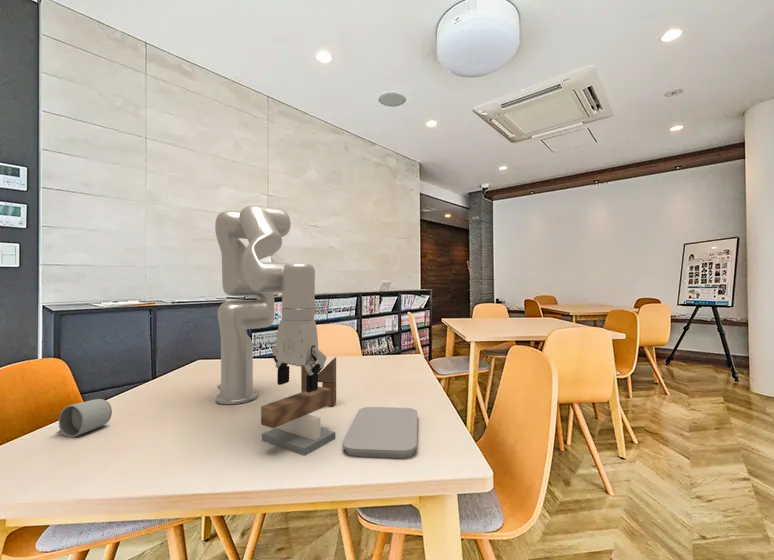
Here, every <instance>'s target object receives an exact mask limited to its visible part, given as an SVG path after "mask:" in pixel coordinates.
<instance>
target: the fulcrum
mask: <svg viewBox="0 0 774 560" xmlns="http://www.w3.org/2000/svg"><path fill="white" fill-rule="evenodd" d="M335 439H336V431H332V430H329V429H327V428H326V429H325V428H322V427H321V417H319V416H316V415H312V414H310V413H309V414H307V415H304V416H302V417H300V418H297V419H295V420H292V421H290V422H288V423H285V424H283V425H280V426H278V427H276V428H271V429H270V430H267V431H266V432H263V433H261V441H263V442H266V443H268V444H272V445H274V446H277V447H280V448H282V449H286V450H288V451H291V452H294V453H297V454H299V455H303V456H306V455H308V454H310V453H311V452H314V451H315V450H317V449H319V448H321V447H323V446H324V445H326V444H328V443H330V442H332V441H334V440H335Z"/></svg>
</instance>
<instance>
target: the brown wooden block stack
mask: <svg viewBox="0 0 774 560" xmlns="http://www.w3.org/2000/svg"><path fill="white" fill-rule="evenodd" d="M310 366H311V368H313V366H312V365H310ZM300 368H301V369H300V371H301V374H300V375H301V377H300V378H301V379H300V380H301V386H300V388H301V390H300V391H301V392H304V391H306V376H307V375H309V374H308V372H307V370H306V368H305V366H300ZM318 383H321V385H322V386H321V387H324V388H329V389H330V405H328V406H327V407H334V406H335V405H336V404H337V357H336V356H335V357H334V358H332V359H331V360H330V361H329V362H328V363H327V364H326V365H325V366H324V367H323V368H322V369H321V371H320V373H318Z"/></svg>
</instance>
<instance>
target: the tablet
mask: <svg viewBox="0 0 774 560" xmlns="http://www.w3.org/2000/svg"><path fill="white" fill-rule="evenodd" d="M358 409H359V408H358ZM418 416H419V415H418V410H417V409H415V408H411V407H391V406H390V407H388V406H385V407H384V406H382V407H381V406H365V407H361V408H360V409H359V410H358V411H357V413H356V414H355V417H354V419H353V420H352V423H351V425H350V426H349V428H348V431H347V432H346V434H345V436H344V439H343V440H342V448H343V449H344V450H345V454H347V455H349V456H351V457H352V456H353V457H373V458H375V457H376V458H394V459H395V458H398V459H403V458H410V457H411V456H413V455H414V453H415V451H416V450H417V448H418V447H417V445H418V443H417V442H418Z"/></svg>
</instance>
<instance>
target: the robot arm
mask: <svg viewBox="0 0 774 560" xmlns="http://www.w3.org/2000/svg"><path fill="white" fill-rule="evenodd" d="M214 226H215V227H214V229H215V236H216V240H217V243H218V247H219V249H220V252H221V279H222V280H221V283H222V284H221V285H222V289H223V292H224V293H225V295H227V296H232V297H254V296H255V297H256V299H239V300H238V299H237V300H235V299H234V300H228V301H225V302H223V303H221V304H220V306H219V307H218V309H217V321H218V326H219V333H220V383H219V384H217V386H216V388H217V389H218V390H219V394H217V395H216V396H215V398H214V399H215V402H216V403H218V404H219V405H220V404H222V405H237V404H244V403H248V402H251V401H254V400H255V399H257V398H258V396H259V395H258V394H259V392H258V391H257V390H255V389H254V373H253V372H254V367H253V366H254V348H253V346H254V345H253V341H252V338H251V337H250V336H249V335H248V334H247V332H246V331H245V330H252V329H253V330H254V329H262V328H268V327H270V326H271V325H273V323H274V320H275V312H276V311H275V293H276V294H279V293H280V294H281V296H282V297H281V312H280V313H281V320H279V323H278V326H277V327H278V328H277V332H276V333H277V334H276V341H275V342H276V343H275V346H273V347H272V348H271V352H272V356H273V361H274V363H275V367H276V368H277V380H276V381H277V382H276V383H277V385H278V386H281V385H284V384H288V383H289V382H290V366H295V367H301V366H305V368H306V370H307V372H308V374H309V375H307V376H306V392H308V393H310V392H312V391H315V390H317V389H318V387H319V382H318V374H319V373H320V372H321V371H322V370H323V369H324V368H325V363H326V361H327V356H326V355H325V354H324V353H323V352H322V351H321V350H319V337H318V329H317V324H316V321H315V299H316V298H315V296H316V294H315V293H316V291H315V290H316V283H315V282H316V269H315V267H314V266H313V265H312V264H310V263H296V262H295V263H287V262H286V263H285V262H272V261H271V262H270V261H269V262H266V261H265V262H263V261H261V260H263V259H266V258H268V257H271V256H274V255H275V254H276V253H277V252H278V251H280V249H281V248H282V245H283V237H285V236H287V235H288V234H289V232H290V230H291V218H290V215H289V214H288V212H286V210H284V209H283V208H282V209H281V208H279V207H278V208H277V207H270V206H264V205H258V204H252V205H247V206H245V207H243V208H242V209H241V211H240V210H225V211H221V212H219V214H217V216H216V219H215V225H214ZM240 239H244V240H247V241H248V245H247V246H246V245H245V244H244V242H243V241H242V240H240ZM310 365H312V366H313V368H311V366H310Z"/></svg>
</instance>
